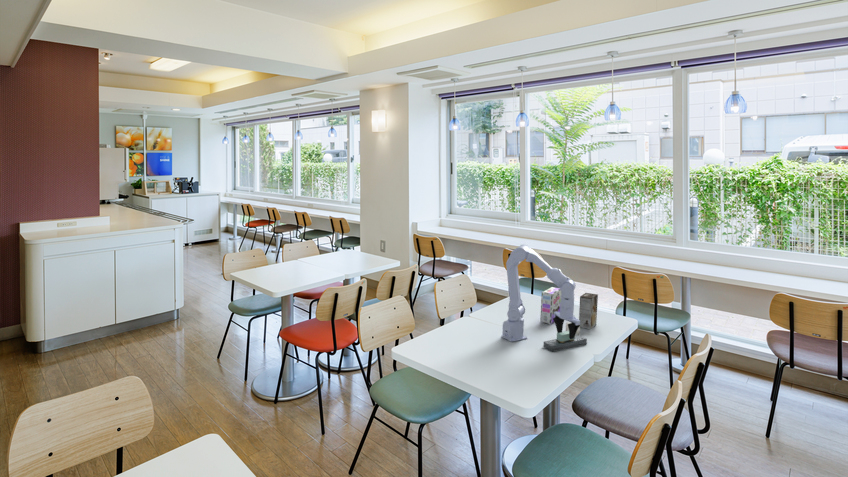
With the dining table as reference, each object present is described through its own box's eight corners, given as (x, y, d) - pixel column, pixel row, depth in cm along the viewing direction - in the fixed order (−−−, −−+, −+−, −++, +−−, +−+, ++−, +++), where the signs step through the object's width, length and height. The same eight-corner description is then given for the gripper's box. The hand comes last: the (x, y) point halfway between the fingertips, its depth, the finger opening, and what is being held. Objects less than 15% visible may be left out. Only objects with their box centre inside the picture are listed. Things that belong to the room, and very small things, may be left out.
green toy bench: (561, 348, 206) (561, 335, 205) (556, 345, 209) (556, 333, 208) (574, 345, 210) (575, 332, 209) (569, 342, 213) (570, 330, 212)
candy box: (550, 324, 237) (552, 293, 234) (539, 322, 240) (541, 291, 238) (560, 318, 248) (562, 288, 245) (550, 315, 251) (551, 286, 249)
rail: (552, 351, 202) (552, 346, 202) (543, 346, 208) (543, 341, 207) (586, 344, 211) (586, 338, 211) (576, 339, 216) (577, 334, 216)
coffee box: (584, 322, 241) (585, 292, 239) (596, 324, 237) (598, 294, 235) (578, 326, 234) (579, 296, 231) (590, 329, 230) (592, 298, 227)
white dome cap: (572, 337, 219) (572, 327, 218) (562, 333, 225) (563, 323, 224) (582, 335, 222) (582, 325, 221) (572, 331, 227) (572, 321, 227)
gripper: (586, 309, 202) (584, 339, 204) (562, 301, 215) (561, 329, 217) (573, 312, 199) (572, 342, 201) (550, 303, 212) (549, 331, 214)
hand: (565, 335), depth 209 cm, fingers open, 7 cm apart
